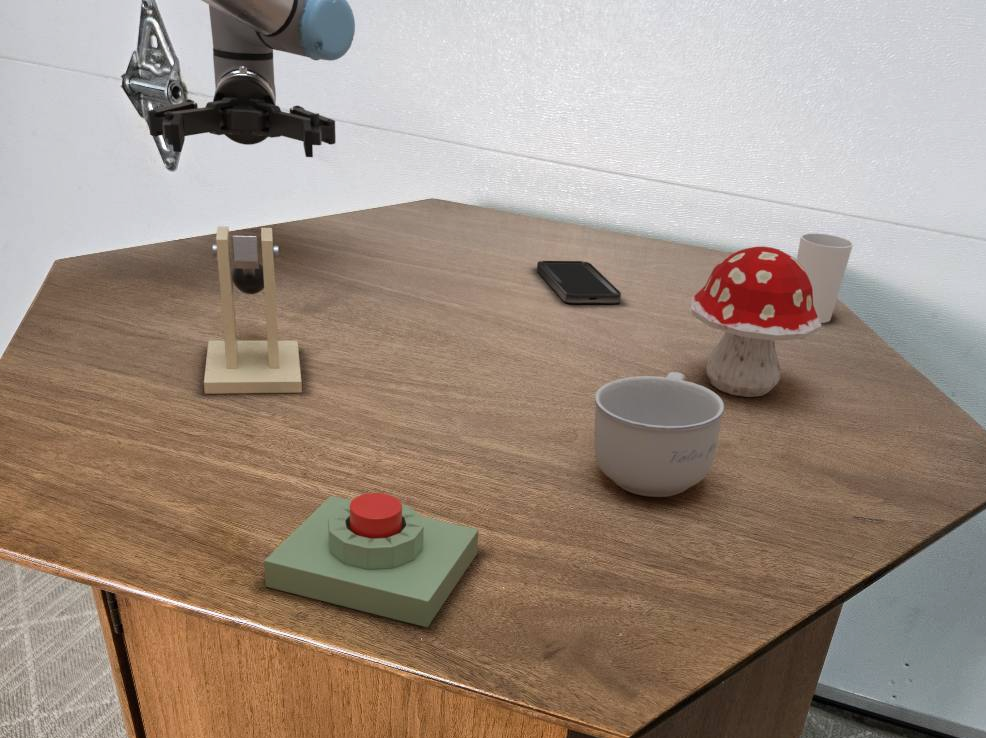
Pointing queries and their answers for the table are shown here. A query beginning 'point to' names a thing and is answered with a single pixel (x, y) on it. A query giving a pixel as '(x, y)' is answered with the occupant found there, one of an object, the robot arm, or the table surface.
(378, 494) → the button
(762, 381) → the decorative mushroom
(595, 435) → the teacup
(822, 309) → the drinking glass
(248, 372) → the bracket
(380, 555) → the control block
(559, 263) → the phone
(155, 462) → the table surface
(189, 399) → the table surface
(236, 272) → the lever
